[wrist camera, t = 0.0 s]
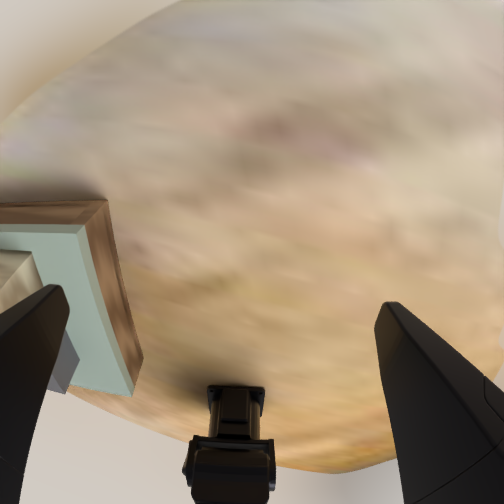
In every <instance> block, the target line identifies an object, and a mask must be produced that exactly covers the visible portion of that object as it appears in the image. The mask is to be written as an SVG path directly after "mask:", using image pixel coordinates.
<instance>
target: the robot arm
mask: <svg viewBox="0 0 504 504" xmlns="http://www.w3.org/2000/svg"><path fill="white" fill-rule="evenodd" d="M69 314H70V306H69V303H68V301H67V298H66V295H65V293H64V290H63V288H62V286H61V285H58V284H48V285H46V286H44V287H43V288H41V289H39V290H38V291H36V292H34V293H33V294H31V295H29V296H28V297H26V298H25V299H23V300H21V301H20V302H18V303H17V304H15V305H13V306H12V307H10V308H9V309H7V310H6V311H4V312H2V313H1V314H0V504H19V500H20V494H21V488H22V482H23V477H24V475H23V474H24V472H25V467H26V463H27V458H28V454H29V450H30V446H31V441H32V437H33V433H34V430H35V426H36V423H37V419H38V416H39V412H40V408H41V406H42V402H43V399H44V396H45V393H46V390H47V387H48V384H49V381H50V378H51V375H52V372H53V369H54V366H55V363H56V360H57V357H58V354H59V350H60V347H61V343H62V339H63V335H64V332H65V328H66V325H67V321H68V318H69ZM374 332H375V339H376V346H377V353H378V361H379V369H380V376H381V381H382V386H383V390H384V395H385V399H386V404H387V408H388V413H389V418H390V423H391V428H392V433H393V438H394V443H395V448H396V454H397V460H398V465H399V472H400V478H401V485H402V492H403V498H404V504H504V392H503V391H502V390H501V389H500V388H498V387H497V386H496V385H495V384H494V383H493V382H492V381H491V380H489V379H488V378H487V377H486V376H484V375H483V373H482V372H480V371H479V370H478V369H477V368H476V367H475V366H474V365H472V364H471V363H470V362H469V361H468V360H467V359H466V358H465V357H463V356H462V355H461V354H460V353H459V352H458V351H456V350H455V349H454V348H453V347H452V346H451V345H449V344H448V343H447V342H446V341H445V340H444V339H442V338H441V337H440V336H439V335H438V334H437V333H435V332H434V331H433V330H432V329H431V328H429V327H428V326H427V325H426V324H425V323H423V322H422V321H421V320H420V319H419V318H417V317H416V316H415V315H414V314H412V313H411V312H410V311H409V310H408V309H406V308H405V307H404V306H403V305H401V304H400V303H399V302H384V303H383V304H382V306H381V309H380V312H379V314H378V317H377V320H376V322H375V327H374ZM207 394H208V402H209V410H210V414H211V415H210V424H209V434H208V437H203V436H199V435H194V436H193V440H190V441H189V448H188V453H187V457H186V459H185V462H184V465H183V468H182V473H183V474H184V475H185V476H186V480H187V485H188V486H189V487H191V495H192V498H193V500H194V502H195V504H267V502H268V500H269V491H274V490H275V484H276V463H275V451H274V439H268V440H260V417H261V416H262V411H263V404H264V397H265V390H264V389H263V388H242V387H223V386H208V388H207Z"/></svg>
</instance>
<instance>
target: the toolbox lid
mask: <svg viewBox="0 0 504 504" xmlns="http://www.w3.org/2000/svg"><path fill="white" fill-rule="evenodd" d="M0 249H5V250H21V251H32V255H33V258H34V261H35V264H36V267H37V269H38V272H39V275H40V278H41V281H42V283H43V286H46V285H48V284H58V285H61V286H62V288H63V290H64V293H65V295H66V298H67V301H68V303H69V306H70V314H69V318H68V321H67V325H66V328H65V332H64V335H63V339H62V343H61V347H60V350H59V354H58V357H57V360H56V363H55V366H54V369H53V372H52V375H51V378H50V381H49V384H48V387H47V389H48V390H51V391H54V392H58V393H62V394H65V393H66V391H67V389H68V386H69V384H70V385H74V386H78V387H82V388H87V389H92V390H96V391H101V392H106V393H111V394H117V395H122V396H128V397H132V395H133V392H134V388H135V387H134V385H133V382H132V380H131V377H130V375H129V372H128V370H127V367H126V365H125V362H124V359H123V357H122V354H121V351H120V348H119V346H118V343H117V340H116V337H115V334H114V331H113V328H112V325H111V322H110V319H109V316H108V313H107V310H106V306H105V303H104V300H103V296H102V293H101V289H100V286H99V282H98V279H97V275H96V271H95V268H94V264H93V260H92V256H91V252H90V247H89V243H88V239H87V234H86V230H85V225H61V224H0Z"/></svg>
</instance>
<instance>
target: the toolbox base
mask: <svg viewBox="0 0 504 504" xmlns="http://www.w3.org/2000/svg"><path fill="white" fill-rule="evenodd" d="M0 224H61V225H85V230H86V234H87V239H88V243H89V247H90V252H91V256H92V260H93V264H94V268H95V271H96V275H97V279H98V282H99V286H100V289H101V293H102V296H103V300H104V303H105V306H106V310H107V313H108V316H109V319H110V322H111V325H112V328H113V331H114V334H115V337H116V340H117V343H118V346H119V348H120V351H121V354H122V357H123V359H124V362H125V365H126V367H127V370H128V372H129V375H130V377H131V380H132V382H133V385H134V387H135V385H136V381H137V378H138V375H139V371H140V368H141V365H142V362H143V354H142V351H141V348H140V344H139V341H138V338H137V334H136V331H135V327H134V323H133V320H132V316H131V312H130V308H129V304H128V300H127V296H126V292H125V288H124V284H123V279H122V275H121V270H120V266H119V261H118V256H117V251H116V246H115V241H114V236H113V230H112V224H111V219H110V212H109V206H108V200H85V201H46V202H21V203H2V204H0Z"/></svg>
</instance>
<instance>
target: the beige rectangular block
mask: <svg viewBox="0 0 504 504" xmlns="http://www.w3.org/2000/svg"><path fill="white" fill-rule="evenodd" d="M43 287H44V286H43V283H42V281H41V278H40V275H39V272H38V269H37V267H36V264H35V261H34V258H33V255H32V251H21V250H5V249H0V314H1V313H2V312H4V311H6V310H7V309H9V308H10V307H12V306H13V305H15V304H17V303H18V302H20V301H21V300H23V299H25V298H26V297H28V296H29V295H31V294H33V293H34V292H36V291H38V290H39V289H41V288H43Z"/></svg>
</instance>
